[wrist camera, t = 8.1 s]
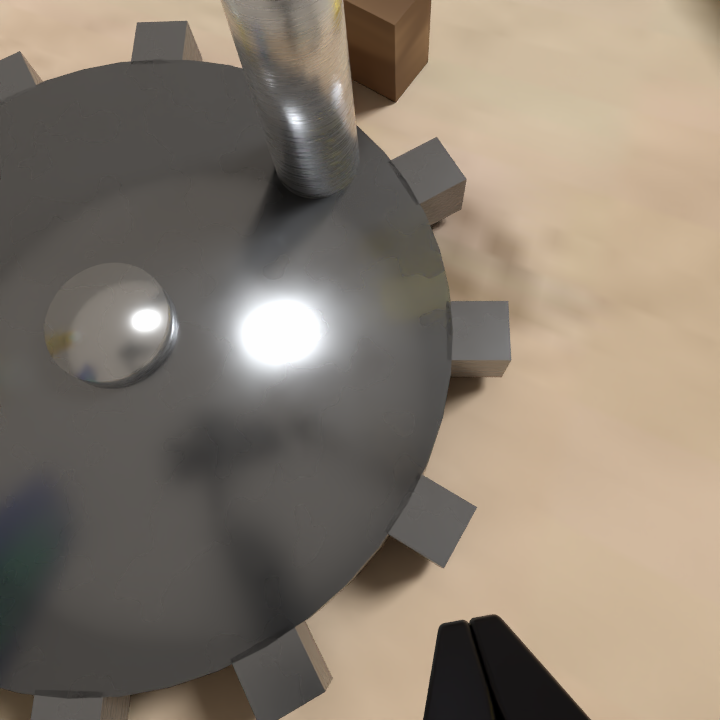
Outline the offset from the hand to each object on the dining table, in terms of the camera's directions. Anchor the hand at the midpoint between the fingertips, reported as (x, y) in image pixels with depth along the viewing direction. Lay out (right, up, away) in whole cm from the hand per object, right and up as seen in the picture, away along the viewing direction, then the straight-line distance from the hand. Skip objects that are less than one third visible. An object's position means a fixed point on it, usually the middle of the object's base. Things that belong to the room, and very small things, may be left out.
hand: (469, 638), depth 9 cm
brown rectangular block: (-1, +16, +18) cm, 24 cm away
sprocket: (-9, +4, +15) cm, 18 cm away
